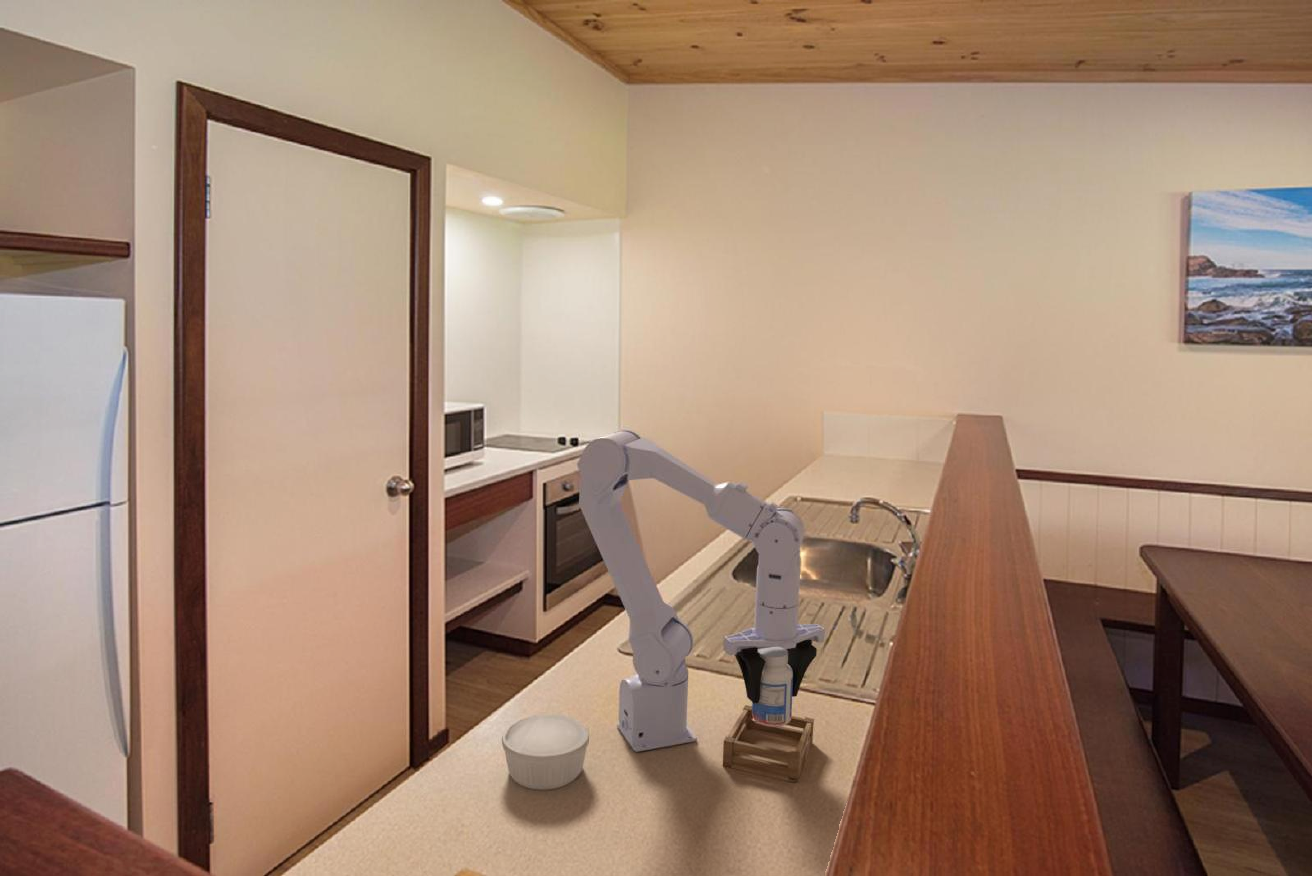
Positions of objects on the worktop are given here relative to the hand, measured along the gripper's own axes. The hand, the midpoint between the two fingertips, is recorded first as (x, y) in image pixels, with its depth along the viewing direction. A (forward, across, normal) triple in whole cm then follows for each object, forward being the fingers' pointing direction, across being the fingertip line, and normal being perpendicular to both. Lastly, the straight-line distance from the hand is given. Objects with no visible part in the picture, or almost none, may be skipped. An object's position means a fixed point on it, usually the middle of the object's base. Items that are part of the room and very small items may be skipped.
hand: (771, 696), depth 110 cm
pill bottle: (+3, 0, 0) cm, 3 cm away
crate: (+8, 0, 0) cm, 8 cm away
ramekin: (+9, -30, +6) cm, 32 cm away
